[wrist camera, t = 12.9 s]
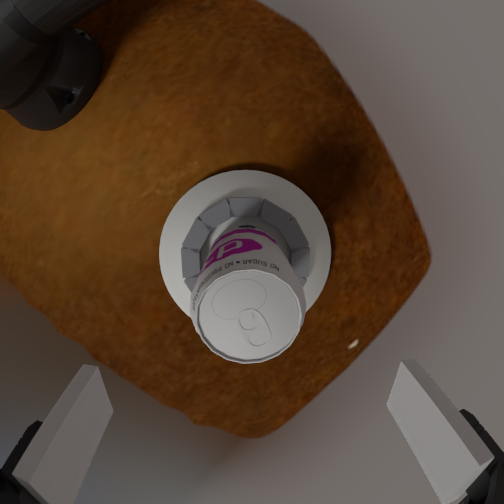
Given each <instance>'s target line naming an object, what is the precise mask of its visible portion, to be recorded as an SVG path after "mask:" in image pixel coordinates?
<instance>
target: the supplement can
mask: <svg viewBox="0 0 504 504" xmlns="http://www.w3.org/2000/svg"><path fill="white" fill-rule="evenodd" d="M306 306H307V305H306V300H305V295H304V290H303V286H302V284H301V283H300V281H299V279H298V277H297V276H296V274H295V272H294V270H293V269H292V267H291V265H290V263H289V262H288V260H287V258H286V257H285V255H284V253H283V251H282V250H281V248H280V246H279V245H278V243H277V242H276V240H275V239H274V237H273V236H272V235H271V234H269V233H268V232H266V231H265V230H264V229H262V228H259V227H256V226H252V225H240V226H234V227H232V228H230V229H228V230H226V231H224V232H223V233H222V234H221V235H220V236H219V237H218V238H217V239H216V240H215V241H214V243H213V245H212V247H211V249H210V252H209V254H208V256H207V258H206V261H205V263H204V265H203V268H202V270H201V272H200V275H199V277H198V279H197V282H196V284H195V286H194V289H193V291H192V293H191V297H190V316H191V318H192V321H193V324H194V326H195V329H196V332H197V333H198V334H199V335H200V337H201V339H202V340H203V341H204V343H205V344H206V345H207V346H208V347H209V348H210V349H211V351H212V352H214V353H216V354H217V355H219V356H221V357H223V358H225V359H226V360H230V361H234V362H239V363H243V364H246V363H259V362H263V361H266V360H268V359H271V358H274V357H276V356H278V355H279V354H280V353H282V352H283V351H284V350H285V349H287V348H288V347H289V346H290V345H291V344H292V342H293V340H294V339H295V337H296V336H297V334H298V332H299V329H300V328H301V326H302V324H303V322H304V317H305V311H306Z"/></svg>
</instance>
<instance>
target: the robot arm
mask: <svg viewBox="0 0 504 504" xmlns="http://www.w3.org/2000/svg"><path fill="white" fill-rule="evenodd" d="M110 1H112V0H0V109H4V110H6V111H7V112H8V113H9V114H10V115H11V116H12V117H13V118H15V119H16V120H17V121H18V122H19V123H20V124H22V125H23V126H25V127H27V128H29V129H34V130H39V131H48V130H53V129H56V128H58V127H60V126H62V125H64V124H65V123H67V122H68V121H69V120H71V119H72V118H73V117H74V116H75V115H76V114H77V113H78V112H79V111H80V110H81V109H82V108H83V107H84V105H85V104H86V103H87V101H88V100H89V98H90V97H91V95H92V93H93V92H94V90H95V88H96V85H97V83H98V80H99V78H100V74H101V70H102V62H103V57H102V51H101V47H100V45H99V43H98V42H97V41H96V40H95V39H94V38H93V37H92V36H91V35H90V34H89V33H87V32H86V31H84V30H81V29H78V28H72V27H70V26H72V25H73V24H75V23H76V22H77V21H79V20H80V19H82V18H83V17H85V16H87V15H88V14H90V13H91V12H93V11H95V10H96V9H98V8H100V7H101V6H103V5H105V4H106V3H108V2H110ZM386 405H387V407H388V409H389V411H390V412H391V414H392V415H393V417H394V419H395V421H396V422H397V424H398V426H399V428H400V429H401V431H402V433H403V435H404V436H405V438H406V440H407V442H408V443H409V445H410V447H411V449H412V451H413V452H414V454H415V456H416V458H417V459H418V461H419V463H420V465H421V467H422V468H423V470H424V472H425V474H426V476H427V478H428V479H429V481H430V483H431V485H432V487H433V489H434V491H435V493H436V494H437V496H438V498H439V500H440V502H441V504H448V503H450V502H452V501H454V500H456V499H458V498H459V497H460V496H461V495H462V494H463V493H464V492H465V491H466V492H467V494H468V495H467V496H466V497H465V498H464V499H463V500H462V501H461V502H460V503H459V504H504V452H503V451H502V450H501V449H500V448H499V446H498V445H497V444H496V442H495V441H494V440H493V439H492V437H491V436H490V435H489V434H488V432H487V431H486V430H484V427H483V426H482V425H481V424H479V421H478V420H477V419H476V418H475V416H474V415H473V414H471V413H469V412H468V411H466V410H465V409H462V410H460V411H459V410H458V409H457V408H456V407H455V406H454V405H453V403H452V402H451V401H450V399H449V398H448V397H447V396H446V395H445V393H444V392H443V391H442V390H441V389H440V387H439V386H438V385H437V384H436V383H435V382H434V380H433V379H432V378H431V377H430V376H429V374H428V373H427V372H426V371H425V370H424V369H423V367H422V366H421V365H420V364H419V363H418V362H417V361H416V359H414V358H413V359H408V360H403V361H401V363H400V366H399V369H398V372H397V376H396V379H395V382H394V385H393V388H392V391H391V394H390V396H389V399H388V402H387V404H386ZM112 413H113V408H112V406H111V403H110V400H109V398H108V395H107V392H106V390H105V386H104V384H103V380H102V378H101V375H100V371H99V368H98V366H91V365H85V364H84V365H83V366H82V367H81V369H80V370H79V371H78V373H77V374H76V375H75V377H74V378H73V380H72V381H71V383H70V384H69V385H68V387H67V388H66V390H65V391H64V392H63V394H62V395H61V397H60V398H59V400H58V401H57V403H56V404H55V406H54V407H53V409H52V410H51V412H50V413H49V415H48V416H47V418H46V419H45V421H44V422H40V421H36V422H34V423H33V424H32V425H31V426H29V427H28V428H27V430H26V431H25V433H24V434H23V437H22V438H21V439H20V440H19V442H18V445H16V446H15V448H14V449H13V451H12V453H11V454H10V456H9V457H8V459H7V461H6V462H5V464H4V465H3V467H2V468H1V469H0V504H74V503H75V500H76V497H77V495H78V492H79V490H80V487H81V485H82V482H83V480H84V477H85V475H86V473H87V470H88V468H89V465H90V463H91V461H92V458H93V456H94V454H95V451H96V449H97V447H98V444H99V442H100V440H101V438H102V435H103V433H104V431H105V429H106V427H107V424H108V422H109V420H110V418H111V416H112Z"/></svg>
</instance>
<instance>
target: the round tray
mask: <svg viewBox="0 0 504 504" xmlns="http://www.w3.org/2000/svg"><path fill="white" fill-rule="evenodd" d="M240 225H252V226H256V227H259V228H262V229H264V230H265V231H266V232H268V233H269V234H271V235H272V236H273V237H274V239H275V240H276V242H277V243H278V245H279V246H280V248H281V250H282V251H283V253H284V255H285V257H286V258H287V260H288V262H289V263H290V265H291V267H292V269H293V270H294V272H295V274H296V276H297V277H298V279H299V281H300V283H301V284H302V286H303V290H304V295H305V300H306V305H307V306H306V311H307V310H308V309H309V308H310V307H311V306H312V305H313V303H314V302H315V301H316V299H317V298H318V296H319V295H320V293H321V291H322V289H323V287H324V285H325V282H326V280H327V277H328V273H329V269H330V262H331V244H330V237H329V233H328V229H327V226H326V224H325V221H324V219H323V217H322V215H321V213H320V211H319V210H318V208H317V206H316V205H315V204H314V203H313V201H312V200H311V199H310V198H309V197H308V196H307V195H306V194H305V193H304V192H303V191H302V190H301V189H299V188H298V187H297V186H295V185H294V184H292V183H291V182H289V181H287V180H285V179H283V178H281V177H279V176H276V175H273V174H270V173H266V172H262V171H255V170H235V171H229V172H224V173H220V174H218V175H215V176H212V177H210V178H208V179H206V180H204V181H202V182H200V183H198V184H197V185H196V186H194V187H193V188H191V189H190V190H189V191H188V192H187V193H186V194H185V195H184V196H183V197H181V199H180V200H179V201H178V202H177V204H176V205H175V206H174V208H173V209H172V211H171V213H170V214H169V216H168V218H167V220H166V223H165V225H164V228H163V231H162V235H161V240H160V248H159V260H160V267H161V272H162V276H163V279H164V282H165V284H166V287H167V289H168V291H169V293H170V294H171V296H172V298H173V299H174V301H175V302H176V303H177V305H178V306H179V307H180V308H181V309H182V310H183V311H184V312H185V313H186V314H187V315H188V316H189V317H190V318H191V316H190V297H191V293H192V291H193V289H194V286H195V284H196V282H197V279H198V277H199V275H200V272H201V270H202V268H203V265H204V263H205V261H206V258H207V256H208V254H209V252H210V249H211V247H212V245H213V243H214V241H215V240H216V239H217V238H218V237H219V236H220V235H221V234H222V233H223V232H224V231H226V230H228V229H230V228H232V227H234V226H240ZM306 311H305V312H306Z"/></svg>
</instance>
